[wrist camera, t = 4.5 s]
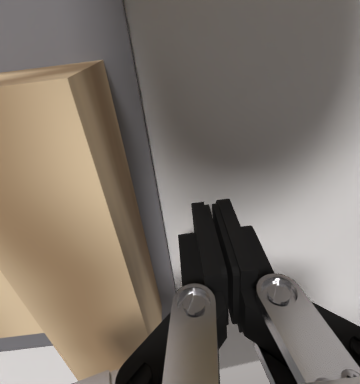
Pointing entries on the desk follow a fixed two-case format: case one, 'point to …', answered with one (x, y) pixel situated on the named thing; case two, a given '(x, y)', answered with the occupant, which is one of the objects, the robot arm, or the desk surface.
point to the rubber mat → (120, 90)
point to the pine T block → (71, 220)
